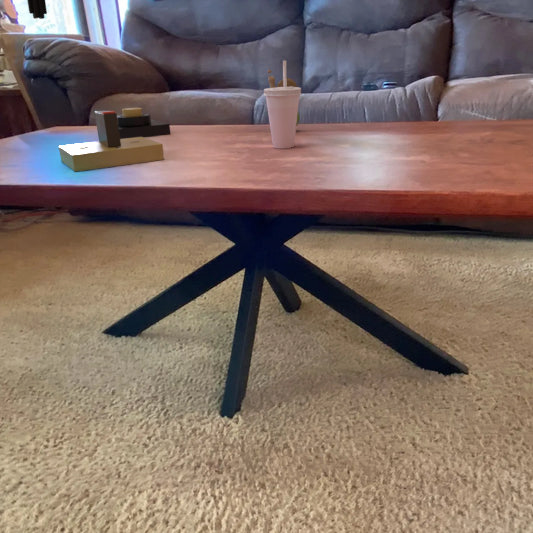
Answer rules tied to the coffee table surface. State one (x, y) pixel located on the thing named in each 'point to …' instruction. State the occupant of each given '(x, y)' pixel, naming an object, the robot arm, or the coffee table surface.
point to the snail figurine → (289, 84)
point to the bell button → (132, 112)
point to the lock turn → (107, 128)
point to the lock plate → (110, 154)
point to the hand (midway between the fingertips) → (38, 18)
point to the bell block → (141, 127)
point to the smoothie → (283, 112)
